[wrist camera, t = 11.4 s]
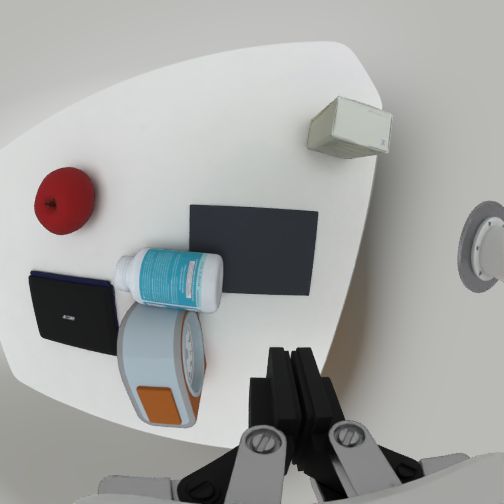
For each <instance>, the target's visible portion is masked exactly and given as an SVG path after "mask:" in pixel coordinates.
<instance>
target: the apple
mask: <svg viewBox="0 0 504 504" xmlns="http://www.w3.org/2000/svg"><path fill="white" fill-rule="evenodd" d="M94 199H95V192H94V188H93V184H92V182H91V180H90V178H89V177H88V176H87V175H86V174H85V173H84V172H83V171H81V170H79V169H76V168H72V167H65V168H60V169H57V170H55V171H53V172H51V173H50V174H48V175H47V176H46V177H45V178H44V180H43V181H42V183H41V185H40V187H39V189H38V192H37V195H36V198H35V204H34V209H35V214H36V216H37V218H38V220H39V222H40V223H41V224H42V225H43V226H44V227H45V228H46V229H47V230H48V231H50V232H52V233H54V234H57V235H66V234H69V233H72V232H74V231H76V230H78V229H80V228H81V227H82V226H83V225H84V224H85V223H86V222H87V221H88V219H89V217H90V216H91V213H92V211H93V207H94Z"/></svg>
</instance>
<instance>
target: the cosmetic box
mask: <svg viewBox="0 0 504 504" xmlns="http://www.w3.org/2000/svg"><path fill="white" fill-rule="evenodd" d="M392 120H393V116H392V114H390V113H388V112H385V111H383V110H380V109H378V108H375V107H373V106H370V105H367V104H364V103H361V102H358V101H355V100H351V99H348V98H344V97H341V96H338V97H337V98H336V99H335V100H334V101H333V102H331V103H330V104H329V105H328V106H327V107H326V108H325V109H323V110H322V111H321V112H320V113H319V114H318V115H317V116H316V117H314V118H313V119H312V121H311V126H310V131H309V137H308V142H307V148H308V149H312V150H315V151H319V152H323V153H326V154H330V155H334V156H338V157H341V158H345V159H352V158H358V157H364V156H371V155H378V154H384V153H388V151H389V145H390V139H391V131H392Z"/></svg>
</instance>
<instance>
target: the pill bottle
mask: <svg viewBox="0 0 504 504" xmlns="http://www.w3.org/2000/svg"><path fill="white" fill-rule="evenodd" d="M115 282H116V285H117V287H118V289H119V290H122V291H127V292H129V291H130V292H131V294H132V296H133V298H134V299H135V300H136V301H137V302H138V303H140V304H145V305H151V306H158V307H165V308H172V309H180V310H187V311H195V312H203V313H214V312H216V311H217V310H218V308H219V304H220V300H221V293H222V284H223V260H222V258H221V256H220V255H217V254H209V253H198V252H188V251H176V250H165V249H155V248H144V249H142V250H140V251H139V252H138V253H137V254H136V255H135V256H134V258H133V257H131V256H123V257H121V258H120V259H119V261H118V263H117V266H116V270H115Z"/></svg>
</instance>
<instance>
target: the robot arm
mask: <svg viewBox="0 0 504 504" xmlns="http://www.w3.org/2000/svg"><path fill="white" fill-rule="evenodd" d="M471 264H472V269H473V272H474V274H475V275H476V276H477V277H478V278H479V279H481V280H484V281H488V280H491V279H492V278H494V277H495V278H496V279H498V280H500V281H502V282H504V222H503V221H502V220H501V219H500V218H498V217H489V218H487V219H486V220H484V221H483V222H482V224H481V225H480V226H479V228H478V230H477V232H476V234H475V237H474V240H473V244H472V250H471ZM291 459H292V464H293V465H295V464H297V468H298V471H304V473H305V474H307V475H308V476H310V482H311V485H312V487H313V490H314V492H315V495H316V498H317V500H318V503H315V504H504V453H488V454H483V455H479V456H475V457H472V458H470V457H469V456H467V455H465V454H463V453H456V454H451V455H446V456H440V457H433V458H425V459H421V460H420V461H419V462H417V461H416V460H414V459H412V458H409V457H406V456H404V455H401V454H399V453H396V452H394V451H392V450H389V449H387V448H384V447H382V446H380V445H377V444H376V442H375V440H374V439H373V437H372V436H371V434H370V433H369V431H368V429H367V428H366V427H365V426H364V425H362V424H361V423H358V422H356V421H350V420H346V421H345V418H344V415H343V412H342V410H341V407H340V404H339V401H338V398H337V396H336V393H335V390H334V388H333V385H332V382H331V380H330V378H329V377H321V376H320V373H319V370H318V367H317V364H316V361H315V359H314V356H313V353H312V350H311V348H310V347H304V348H297V349H296V351H292V352H291V358H290V356H289V351H284V348H283V347H270V348H269V357H268V366H267V375H266V378H250V389H249V429H247V430H246V431H245V432H244V433H243V434H242V437H241V440H240V444H239V445H238V446H237V447H235V448H234V449H232V450H231V451H229V452H228V453H226V454H224V455H223V456H221V457H220V458H218V459H216V460H215V461H213V462H211V463H209V464H208V465H206V466H204V467H202V468H201V469H199V470H197V471H195V472H193V473H192V474H190V475H188V476H186V477H185V478H183V479H182V480H171V479H170V478H151V477H129V476H118V475H113V476H108V477H105V478H104V479H103V480H102V481H101V482H100V484H99V487H98V494H97V495H89V496H85V497H82V498H79V499H77V500H76V501H74V502H73V503H72V504H281V499H282V489H283V480H284V476H285V475H286V474H287V471H288V468H289V465H290V462H291Z"/></svg>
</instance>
